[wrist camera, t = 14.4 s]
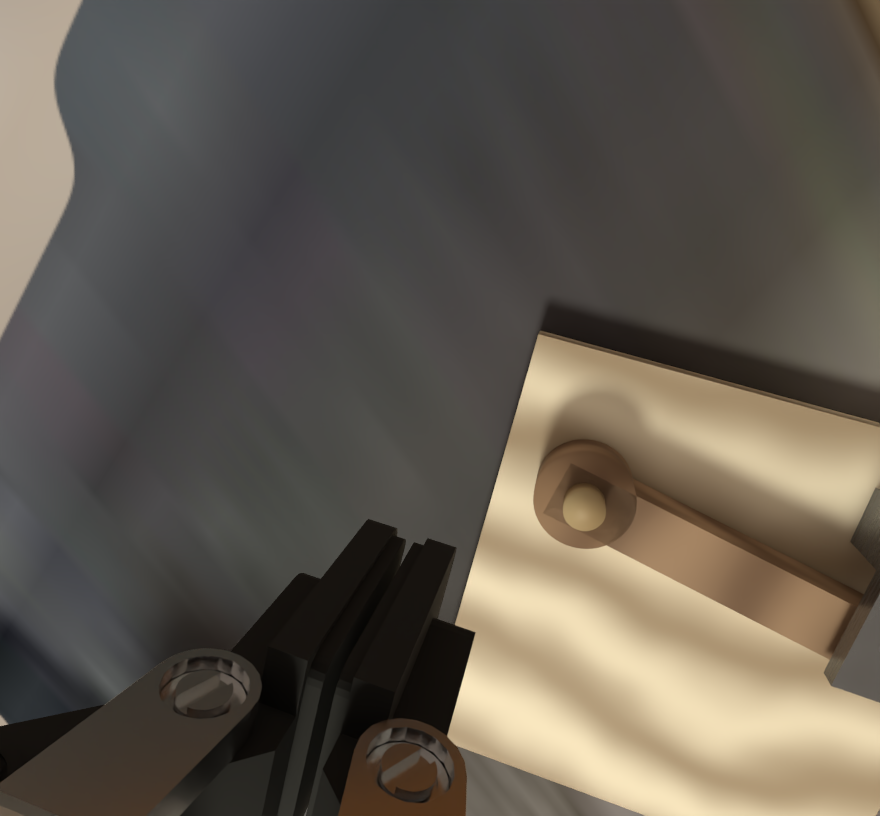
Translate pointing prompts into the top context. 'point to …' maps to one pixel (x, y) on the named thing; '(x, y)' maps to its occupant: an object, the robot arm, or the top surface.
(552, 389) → the birch board
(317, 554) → the top surface
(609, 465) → the walnut link
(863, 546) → the block
